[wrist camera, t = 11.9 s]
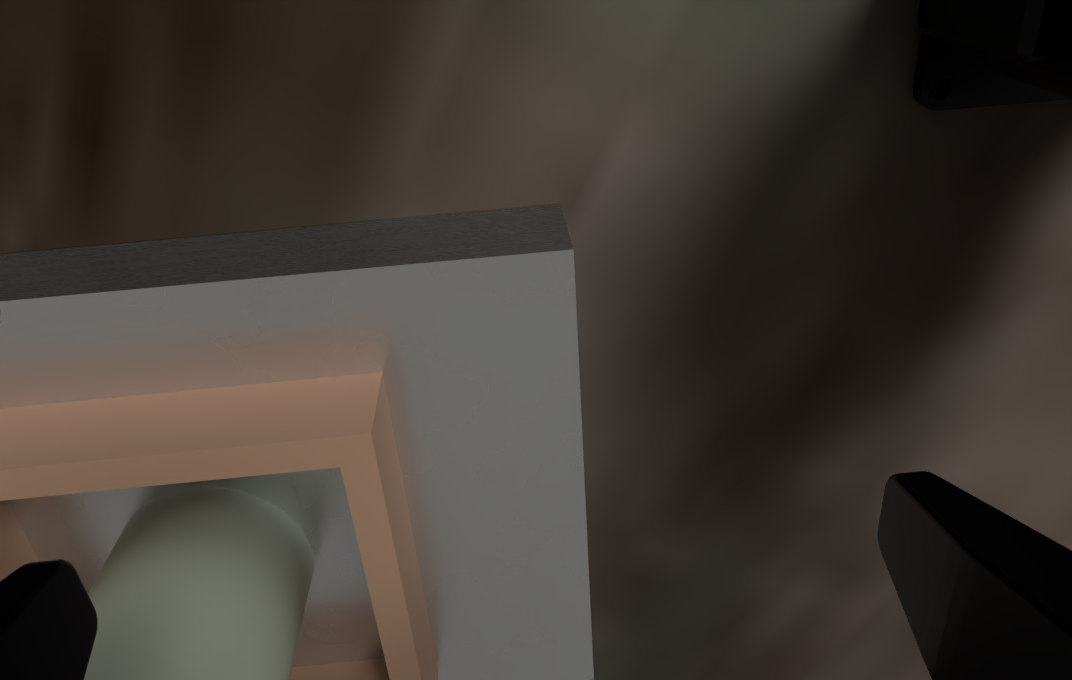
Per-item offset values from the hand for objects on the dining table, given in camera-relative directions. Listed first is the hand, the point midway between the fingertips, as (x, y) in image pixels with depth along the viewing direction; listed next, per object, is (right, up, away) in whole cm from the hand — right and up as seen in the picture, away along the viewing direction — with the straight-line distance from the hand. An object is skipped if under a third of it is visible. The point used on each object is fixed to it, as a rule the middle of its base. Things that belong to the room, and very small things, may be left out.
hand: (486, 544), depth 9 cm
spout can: (-8, -4, +13) cm, 15 cm away
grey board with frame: (-8, -2, +15) cm, 18 cm away
